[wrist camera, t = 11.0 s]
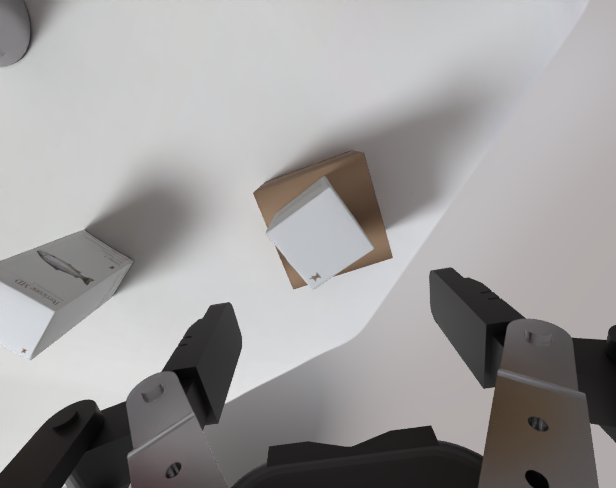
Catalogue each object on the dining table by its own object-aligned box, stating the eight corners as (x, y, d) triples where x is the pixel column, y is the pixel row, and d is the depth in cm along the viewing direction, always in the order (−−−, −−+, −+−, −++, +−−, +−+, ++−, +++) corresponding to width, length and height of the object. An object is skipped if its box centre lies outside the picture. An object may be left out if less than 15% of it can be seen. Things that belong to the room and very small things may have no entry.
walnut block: (264, 182, 35) (253, 193, 27) (351, 150, 34) (363, 152, 26) (296, 260, 38) (293, 289, 31) (375, 234, 37) (392, 257, 30)
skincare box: (360, 224, 28) (377, 250, 22) (311, 258, 30) (312, 293, 23) (324, 173, 27) (330, 184, 20) (273, 211, 28) (262, 234, 21)
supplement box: (136, 260, 38) (58, 313, 26) (111, 298, 40) (28, 364, 28) (83, 227, 37) (-25, 267, 25) (61, 268, 39) (-50, 324, 27)
